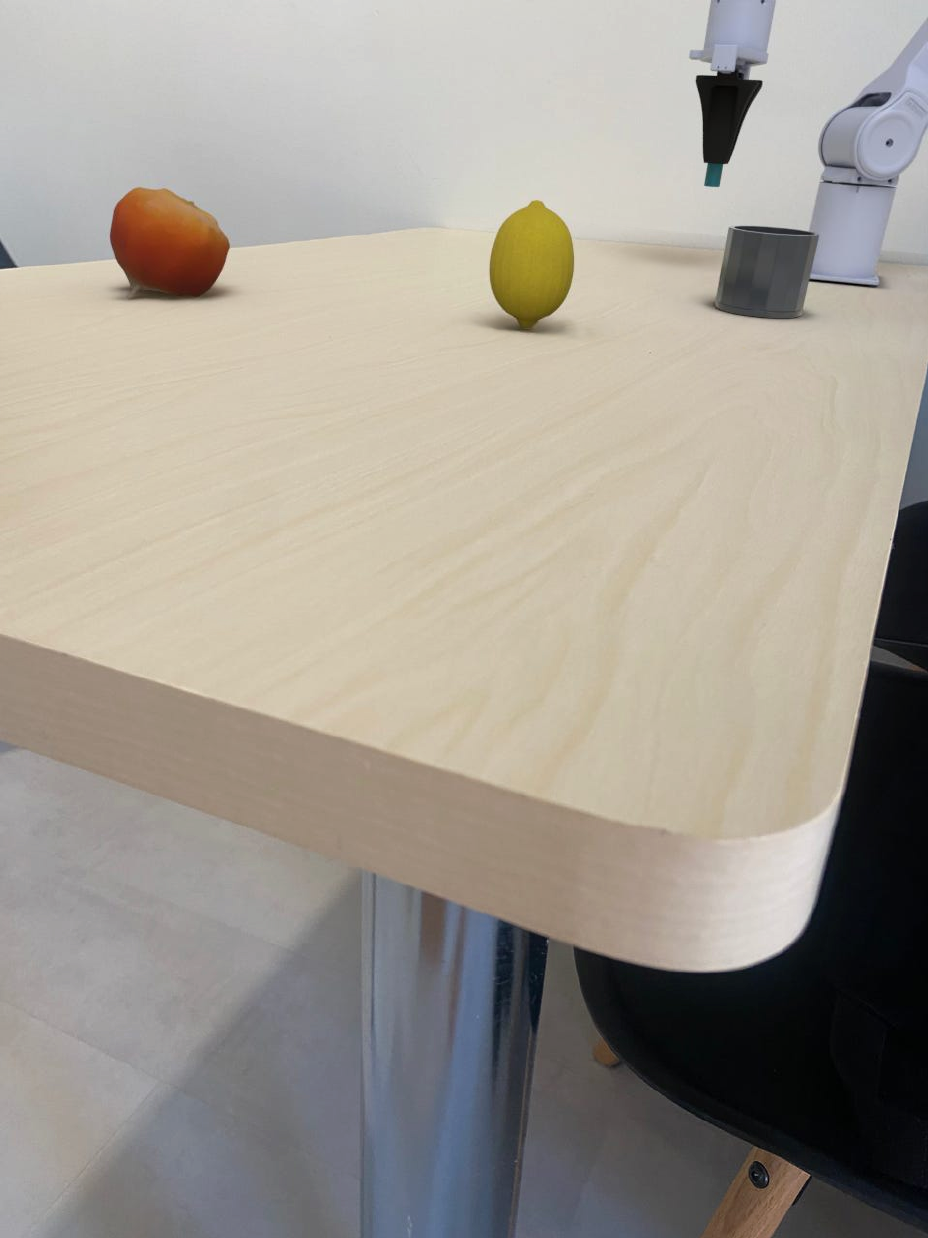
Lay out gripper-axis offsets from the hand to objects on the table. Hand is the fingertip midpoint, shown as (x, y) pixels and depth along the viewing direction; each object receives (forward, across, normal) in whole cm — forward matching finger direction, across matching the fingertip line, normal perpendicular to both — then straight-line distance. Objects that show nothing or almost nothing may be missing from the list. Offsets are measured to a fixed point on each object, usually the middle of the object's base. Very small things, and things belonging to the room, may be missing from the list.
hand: (715, 163), depth 88 cm
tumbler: (+10, +20, +8) cm, 24 cm away
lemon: (+10, +40, -6) cm, 41 cm away
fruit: (+10, +43, -32) cm, 55 cm away
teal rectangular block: (+2, 0, 0) cm, 2 cm away
